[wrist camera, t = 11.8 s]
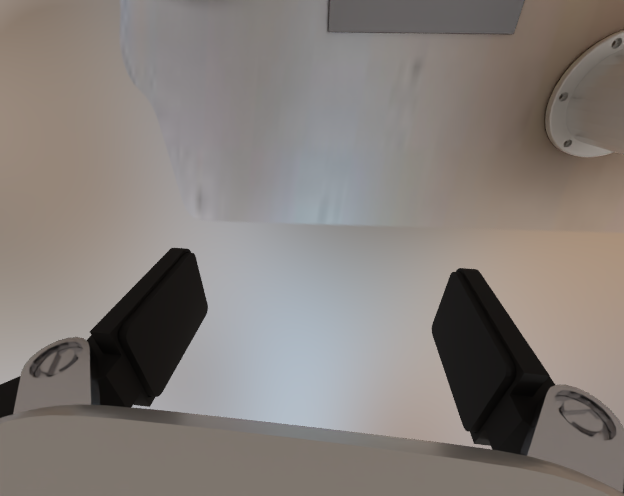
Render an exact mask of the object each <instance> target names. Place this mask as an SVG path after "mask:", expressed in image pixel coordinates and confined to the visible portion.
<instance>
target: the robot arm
mask: <svg viewBox="0 0 624 496" xmlns="http://www.w3.org/2000/svg"><path fill="white" fill-rule="evenodd" d="M559 96H560V97H559ZM545 125H546V132H547V134H548V137H549V139H550V141H551V142H552V143H553V144H554V146H555V147H557V148H558V149H559V150H561V151H562V152H565V153H567V154H570V155H573V156H577V157H589V158H591V157H599V156H604V155H608V154H611V153H615V152H616V153H619V154H623V155H624V30H622V31H619V32H617V33H614V34H612V35H610V36H608V37H606V38H605V39H603V40H601V41H599V42H598V43H596V44H595V45H594V46H592V47H591V48H589V49H588V50H587V51H585V52H584V53H583V54H582V55H581V56H580V57H579V58H578V59H577V60H576V61H575V62H573V64H572V65H571V66H570V67H569V68H568V69H567V71H566V72H565V73H564V74H563V76H562V77H561V79H560V80H559V82H558V83H557V85H556V86H555V88H554V91H553V93H552V95H551V97H550V99H549V103H548V106H547V109H546V117H545ZM207 309H208V305H207V301H206V297H205V293H204V289H203V285H202V281H201V277H200V273H199V269H198V265H197V261H196V257H195V255H194V253H191V251H190V250H189V249H182V248H171V249H170V250H169V251H168V252H167V253H166V254H165V255H164V256H163V257H162V258H161V259H160V260H159V261H158V262H157V264H155V265H154V266H153V267H152V268H151V270H150V271H149V272H148V273H147V274H146V275H145V276H144V277H143V278H142V279H141V280H140V281H139V282H138V283H137V284H136V285H135V286H134V287H133V288H132V289H131V290H130V291H129V292H128V293H127V294H126V295H125V296H124V297H123V298H122V299H121V300H120V301H119V302H118V303H117V304H116V305H115V307H113V308H112V309H111V311H110V312H108V314H107V315H106V316H105V317H104V318H103V319H102V320H101V321H100V322H99V323H98V324H97V325H96V326H95V327H94V328H93V329H92V330H91V331H90V333H91V334H92V335H91V336H90V337H89V338H88V340H87V341H86V340H85V339H84V338H78V337H73V338H66V339H62V340H59V341H56V342H54V343H52V344H50V345H48V346H46V347H44V348H43V349H41V350H40V351H38V352H37V353H36V354H35V355H33V356H32V357H31V358H30V359H29V361H28V362H27V363H26V364H25V365H24V368H23V370H22V372H21V376H20V377H17V378H15V379H12V380H10V381H8V382H6V383H3V384H1V385H0V496H624V428H623V426H622V424H621V423H620V421H619V419H618V418H617V417H616V416H615V415H614V413H613V412H612V411H611V410H610V409H609V408H608V407H606V405H604V404H603V403H602V402H601V401H600V400H598V399H597V398H595V397H593V396H592V395H590V394H589V393H587V392H585V391H583V390H580V389H578V388H576V387H572V386H568V385H555V384H554V383H553V381H552V379H551V378H550V376H549V374H548V373H547V371H546V370H545V368H544V367H543V365H542V364H541V362H540V361H539V359H538V358H537V356H536V355H535V354H534V352H533V350H532V349H531V348H530V346H529V345H528V343H527V342H526V340H525V339H524V337H523V336H522V334H521V333H520V331H519V330H518V328H517V327H516V325H515V324H514V322H513V321H512V319H511V318H510V316H509V315H508V313H507V312H506V310H505V309H504V307H503V306H502V304H501V303H500V301H499V300H498V299H497V297H496V296H495V294H494V293H493V291H492V290H491V288H490V287H489V285H488V284H487V282H486V281H485V279H484V278H483V276H482V275H481V273H480V272H479V271H478V270H476V269H463V268H459V269H458V270H457V271H456V272H452V273H451V275H450V278H449V281H448V283H447V286H446V289H445V291H444V294H443V297H442V300H441V303H440V305H439V309H438V311H437V314H436V316H435V319H434V322H433V325H432V334H433V338H434V340H435V344H436V346H437V350H438V353H439V355H440V358H441V361H442V364H443V367H444V370H445V373H446V376H447V379H448V382H449V385H450V388H451V391H452V394H453V397H454V400H455V403H456V406H457V409H458V412H459V415H460V418H461V421H462V424H463V426H464V428H465V430H466V431H470V433H471V436H472V439H473V442H474V444H481V445H490V446H491V447H492V450H490V449H483V448H475V447H469V446H461V445H454V444H447V443H439V442H431V441H423V440H415V439H407V438H398V437H390V436H382V435H373V434H365V433H357V432H348V431H340V430H331V429H322V428H314V427H305V426H297V425H288V424H279V423H271V422H262V421H253V420H243V419H235V418H226V417H216V416H208V415H198V414H189V413H180V412H171V411H162V410H151V409H141V408H131V407H132V405H133V404H134V405H140V406H150V405H151V404H152V402H153V400H154V398H155V397H157V396H159V395H160V394H161V393H162V392H163V390H164V388H165V386H166V385H167V383H168V381H169V379H170V378H171V376H172V374H173V372H174V370H175V369H176V367H177V365H178V364H179V362H180V360H181V358H182V356H183V354H184V353H185V351H186V349H187V347H188V346H189V344H190V342H191V340H192V339H193V337H194V335H195V333H196V332H197V330H198V328H199V326H200V325H201V323H202V321H203V319H204V318H205V316H206V313H207Z"/></svg>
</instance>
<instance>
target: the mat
mask: <svg viewBox="0 0 624 496" xmlns="http://www.w3.org/2000/svg"><path fill="white" fill-rule="evenodd" d="M524 1H525V0H330V12H329V32H370V33H452V34H514V31H515V28H516V25H517V22H518V19H519V16H520V13H521V10H522V7H523V4H524Z"/></svg>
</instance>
